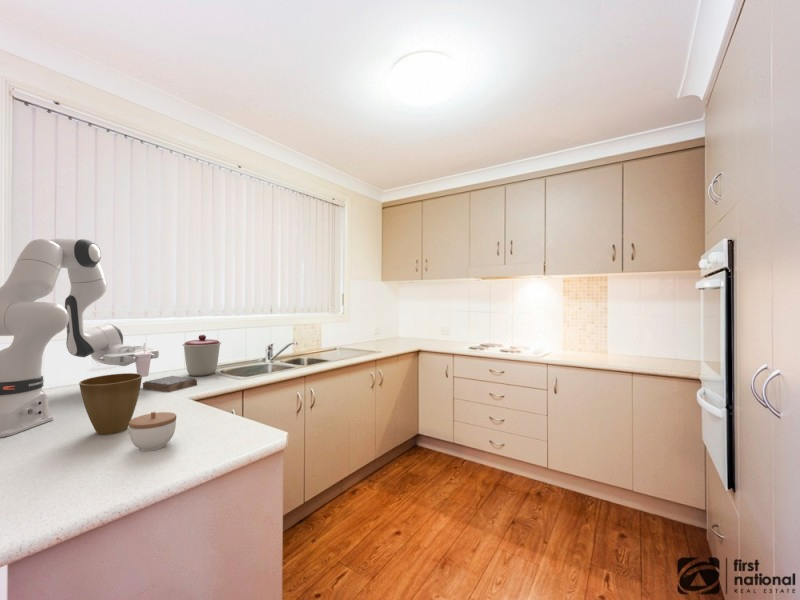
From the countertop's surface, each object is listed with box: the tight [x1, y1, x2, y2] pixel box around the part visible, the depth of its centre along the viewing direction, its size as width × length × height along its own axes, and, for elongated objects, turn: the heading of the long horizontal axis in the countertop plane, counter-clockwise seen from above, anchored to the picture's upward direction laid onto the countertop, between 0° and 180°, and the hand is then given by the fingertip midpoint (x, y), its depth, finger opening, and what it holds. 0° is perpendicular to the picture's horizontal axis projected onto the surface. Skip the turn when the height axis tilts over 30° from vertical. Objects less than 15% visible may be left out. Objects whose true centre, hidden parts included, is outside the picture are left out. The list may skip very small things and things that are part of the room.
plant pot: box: [78, 372, 143, 436], centre depth 110 cm, size 15×15×16 cm
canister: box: [182, 334, 222, 377], centre depth 192 cm, size 18×18×21 cm
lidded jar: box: [128, 411, 177, 452], centre depth 98 cm, size 11×11×9 cm
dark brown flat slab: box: [142, 375, 198, 393], centre depth 165 cm, size 14×16×3 cm
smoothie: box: [134, 342, 152, 378], centre depth 153 cm, size 6×6×14 cm
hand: (144, 357), depth 153 cm, fingers closed on smoothie, 6 cm apart
